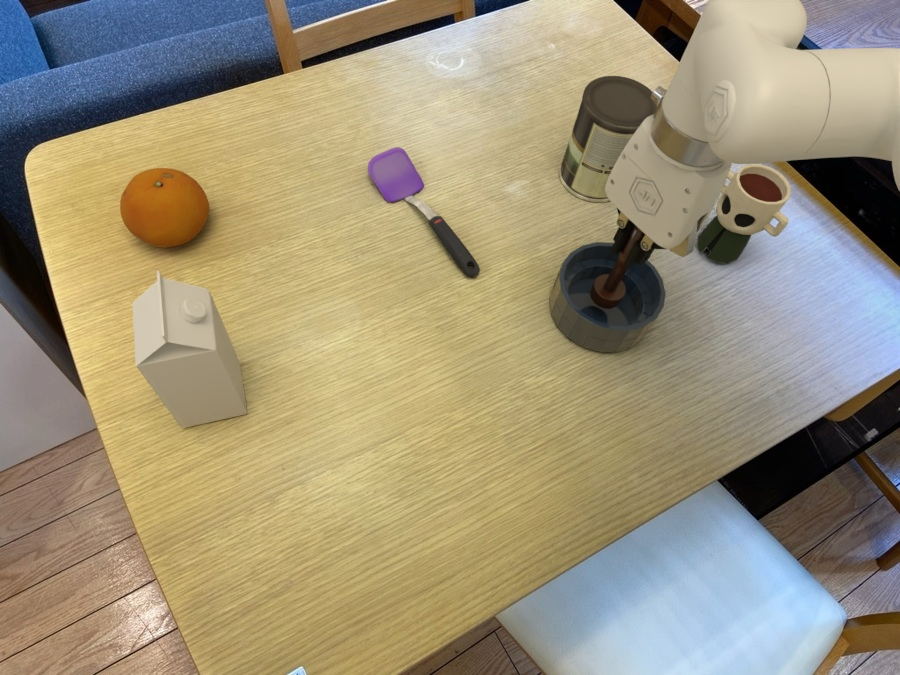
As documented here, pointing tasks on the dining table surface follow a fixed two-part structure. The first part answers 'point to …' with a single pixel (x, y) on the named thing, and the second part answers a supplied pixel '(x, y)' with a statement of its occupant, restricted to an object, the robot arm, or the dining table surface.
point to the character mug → (745, 211)
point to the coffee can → (603, 133)
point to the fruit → (164, 207)
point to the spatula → (416, 201)
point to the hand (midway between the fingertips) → (627, 254)
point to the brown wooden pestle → (614, 277)
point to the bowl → (600, 324)
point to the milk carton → (187, 353)
